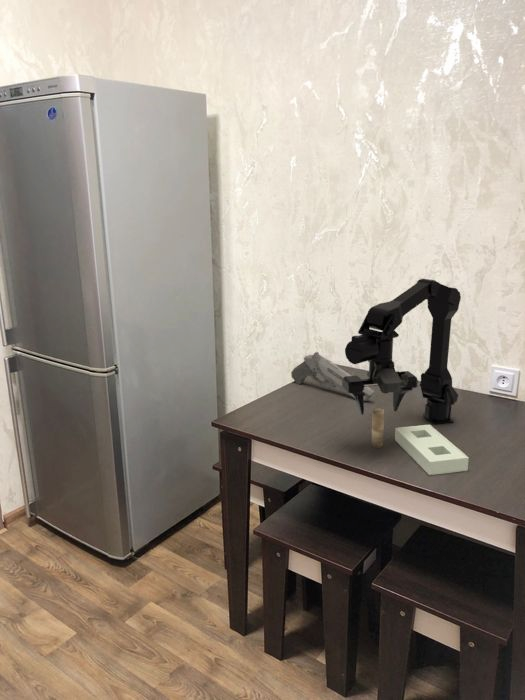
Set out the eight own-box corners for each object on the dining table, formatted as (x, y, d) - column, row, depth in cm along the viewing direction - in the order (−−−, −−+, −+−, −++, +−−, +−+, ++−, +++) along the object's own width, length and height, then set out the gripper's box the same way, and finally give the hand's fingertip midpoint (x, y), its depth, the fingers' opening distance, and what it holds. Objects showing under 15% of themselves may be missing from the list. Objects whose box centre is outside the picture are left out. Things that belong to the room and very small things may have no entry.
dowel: (379, 442, 152) (381, 407, 150) (384, 447, 150) (386, 412, 147) (369, 443, 152) (370, 408, 149) (373, 448, 149) (375, 413, 146)
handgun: (361, 425, 186) (377, 389, 179) (356, 428, 184) (372, 391, 177) (293, 376, 202) (304, 341, 195) (287, 378, 200) (299, 343, 193)
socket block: (394, 439, 154) (395, 428, 153) (428, 436, 156) (429, 424, 155) (429, 475, 135) (430, 462, 134) (467, 470, 137) (468, 457, 136)
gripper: (357, 368, 135) (355, 428, 139) (429, 362, 138) (425, 421, 142) (342, 355, 145) (340, 411, 149) (409, 349, 148) (406, 405, 153)
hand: (378, 412), depth 148 cm, fingers open, 9 cm apart
